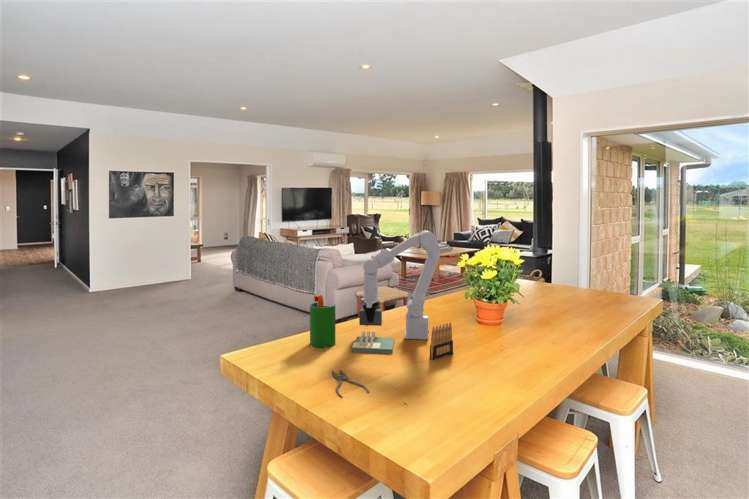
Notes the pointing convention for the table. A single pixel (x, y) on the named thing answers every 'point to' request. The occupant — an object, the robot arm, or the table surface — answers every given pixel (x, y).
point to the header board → (373, 344)
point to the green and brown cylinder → (322, 323)
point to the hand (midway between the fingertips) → (370, 320)
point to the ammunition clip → (441, 342)
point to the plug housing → (376, 321)
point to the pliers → (344, 377)
